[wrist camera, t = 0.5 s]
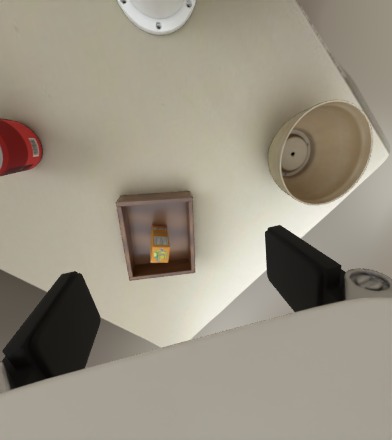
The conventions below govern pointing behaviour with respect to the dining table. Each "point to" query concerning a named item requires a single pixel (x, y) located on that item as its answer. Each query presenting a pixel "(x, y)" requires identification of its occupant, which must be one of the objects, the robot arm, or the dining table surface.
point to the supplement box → (159, 244)
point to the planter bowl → (321, 152)
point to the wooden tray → (141, 232)
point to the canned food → (17, 147)
